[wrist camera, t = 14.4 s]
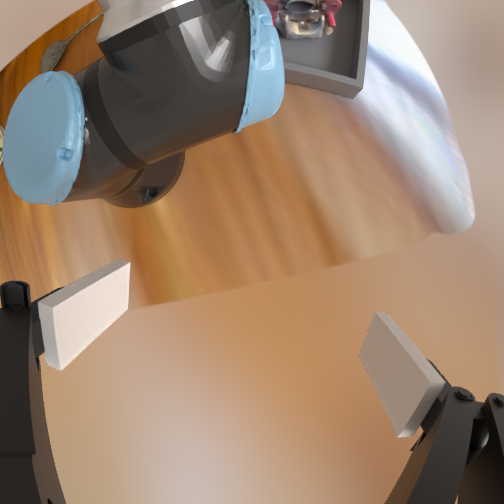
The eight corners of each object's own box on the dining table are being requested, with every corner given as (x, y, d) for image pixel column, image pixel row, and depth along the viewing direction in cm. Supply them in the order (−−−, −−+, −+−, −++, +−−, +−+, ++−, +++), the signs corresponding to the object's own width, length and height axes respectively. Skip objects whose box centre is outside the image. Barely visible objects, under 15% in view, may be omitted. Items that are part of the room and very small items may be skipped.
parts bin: (214, 72, 36) (207, 58, 31) (242, -21, 32) (240, -38, 27) (352, 99, 36) (362, 88, 31) (362, 2, 32) (370, -14, 27)
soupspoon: (41, 63, 37) (47, 83, 38) (30, 59, 34) (37, 80, 35) (126, -9, 33) (137, 9, 34) (119, -17, 30) (130, 1, 31)
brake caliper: (264, 51, 32) (256, -28, 21) (259, 26, 37) (251, -36, 26) (347, 49, 31) (352, -26, 20) (327, 24, 36) (328, -36, 25)
